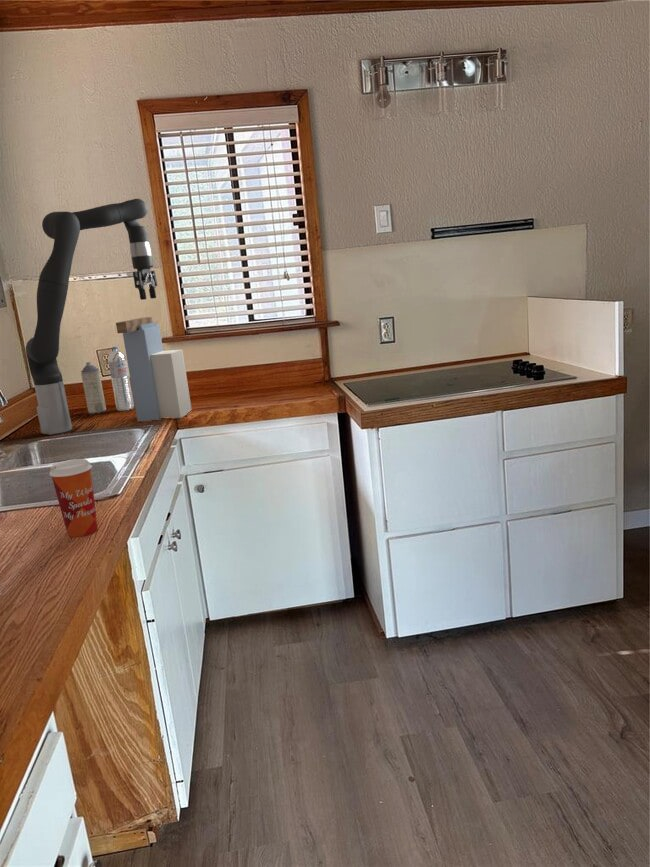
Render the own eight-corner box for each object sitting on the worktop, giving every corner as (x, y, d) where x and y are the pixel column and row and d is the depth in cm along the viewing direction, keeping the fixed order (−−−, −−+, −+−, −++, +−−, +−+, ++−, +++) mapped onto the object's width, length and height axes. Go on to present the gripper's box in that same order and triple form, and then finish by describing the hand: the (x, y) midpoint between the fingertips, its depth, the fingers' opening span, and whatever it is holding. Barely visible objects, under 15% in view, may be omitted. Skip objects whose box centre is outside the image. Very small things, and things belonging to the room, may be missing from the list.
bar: (127, 332, 210) (125, 321, 210) (117, 333, 211) (115, 322, 210) (153, 326, 230) (151, 316, 230) (144, 327, 231) (142, 317, 230)
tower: (158, 420, 225) (143, 325, 217) (137, 421, 227) (121, 327, 219) (172, 412, 238) (158, 321, 230) (152, 413, 239) (137, 323, 231)
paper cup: (68, 543, 120) (53, 472, 117) (57, 532, 126) (43, 465, 123) (109, 530, 124) (96, 462, 121) (97, 520, 130) (84, 455, 127)
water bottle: (133, 406, 257) (123, 345, 251) (135, 409, 251) (124, 346, 245) (116, 409, 255) (105, 347, 249) (117, 412, 249) (106, 348, 243)
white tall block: (180, 417, 226) (170, 353, 220) (160, 419, 227) (150, 355, 222) (191, 411, 237) (182, 349, 231) (172, 412, 238) (163, 350, 232)
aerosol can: (110, 410, 255) (101, 360, 250) (97, 414, 249) (88, 363, 244) (97, 410, 258) (88, 361, 253) (84, 413, 252) (75, 363, 247)
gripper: (142, 254, 233) (149, 299, 237) (158, 254, 247) (165, 297, 251) (123, 256, 234) (131, 301, 238) (140, 256, 248) (147, 298, 252)
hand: (148, 298), depth 244 cm, fingers open, 8 cm apart
